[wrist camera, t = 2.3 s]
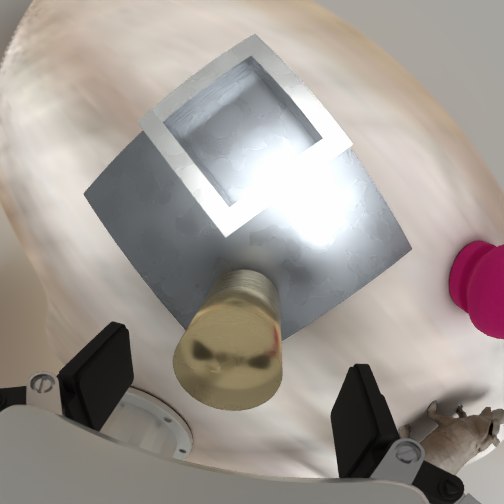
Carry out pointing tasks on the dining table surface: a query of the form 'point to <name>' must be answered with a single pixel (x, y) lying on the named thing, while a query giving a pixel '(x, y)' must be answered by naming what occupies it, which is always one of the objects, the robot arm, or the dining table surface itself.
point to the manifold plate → (247, 193)
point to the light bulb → (233, 344)
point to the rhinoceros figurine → (458, 437)
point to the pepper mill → (480, 286)
